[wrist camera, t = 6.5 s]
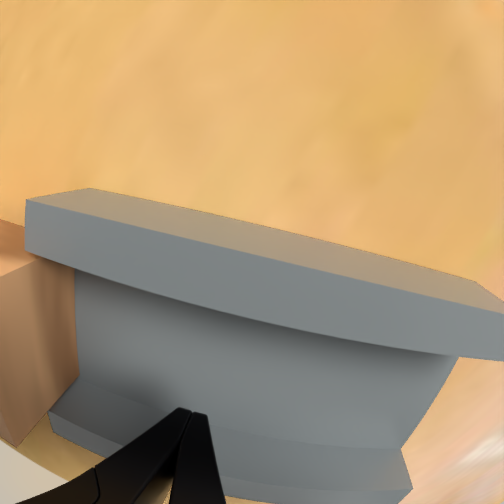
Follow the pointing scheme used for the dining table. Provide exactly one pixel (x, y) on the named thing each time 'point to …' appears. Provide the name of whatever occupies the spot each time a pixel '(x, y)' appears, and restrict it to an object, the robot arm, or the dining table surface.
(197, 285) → the chute
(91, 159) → the dining table surface
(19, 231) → the block
